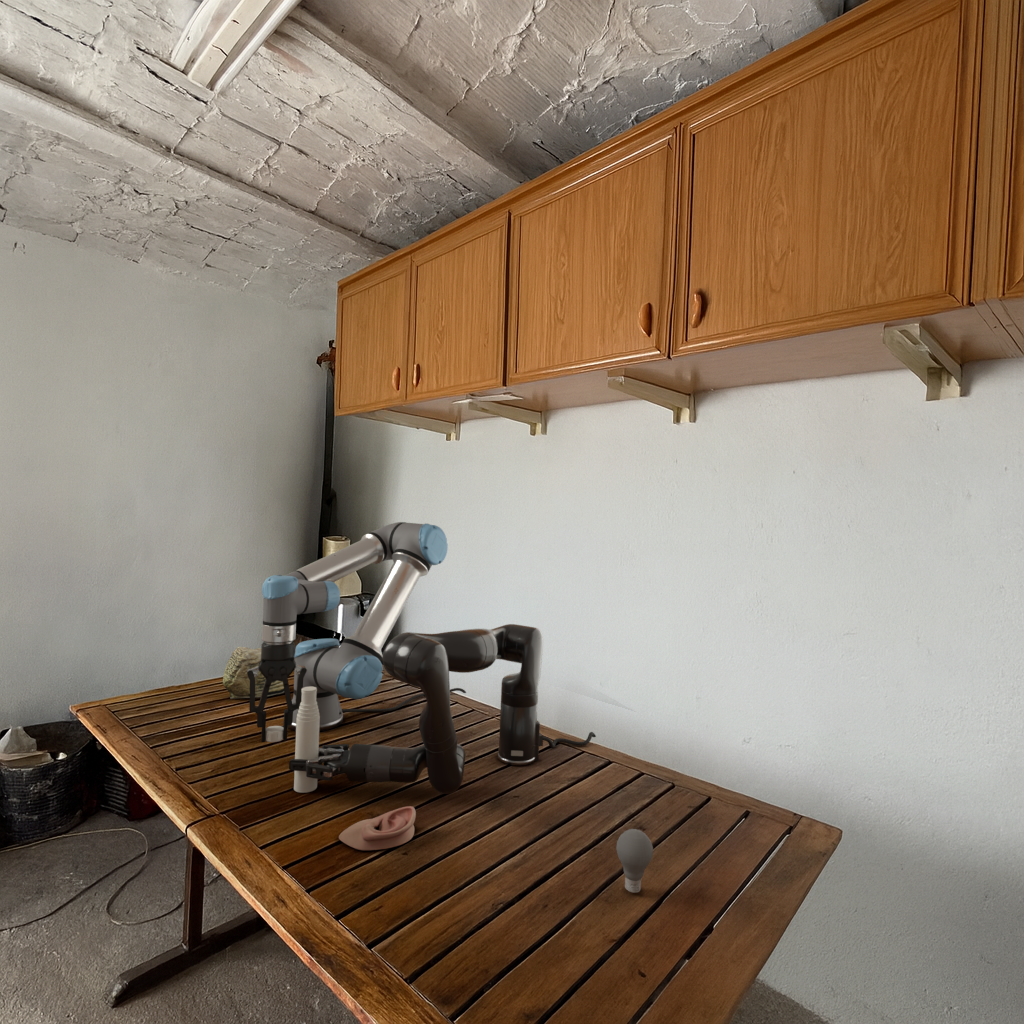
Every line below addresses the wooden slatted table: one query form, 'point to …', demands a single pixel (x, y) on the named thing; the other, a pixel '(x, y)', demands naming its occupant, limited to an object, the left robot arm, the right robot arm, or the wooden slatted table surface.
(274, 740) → the cap
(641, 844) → the light bulb
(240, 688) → the fossil
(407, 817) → the anatomical model
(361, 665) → the left robot arm
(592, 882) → the wooden slatted table surface
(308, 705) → the bottle
